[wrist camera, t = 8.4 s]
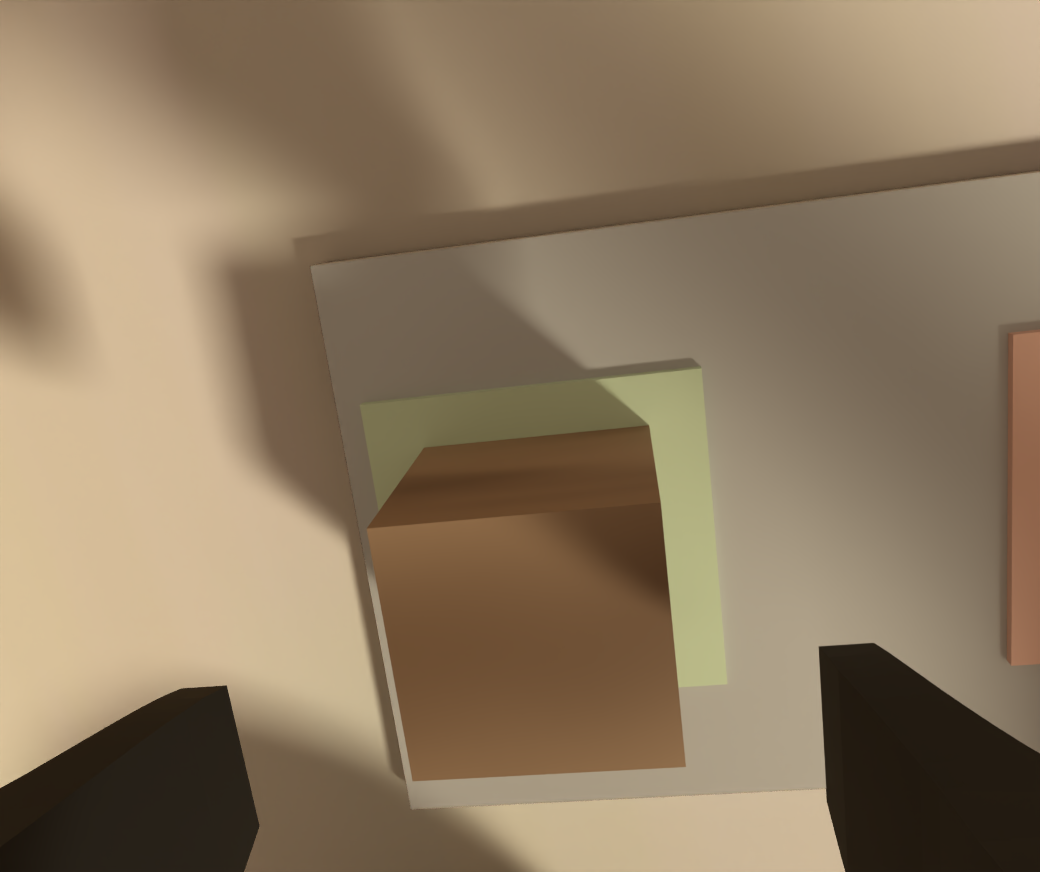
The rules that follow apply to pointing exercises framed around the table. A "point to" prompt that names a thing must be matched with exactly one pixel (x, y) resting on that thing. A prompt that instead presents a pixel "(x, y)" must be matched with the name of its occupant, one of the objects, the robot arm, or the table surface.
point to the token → (530, 608)
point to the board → (748, 443)
